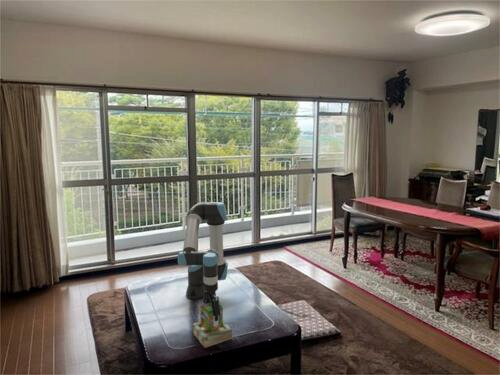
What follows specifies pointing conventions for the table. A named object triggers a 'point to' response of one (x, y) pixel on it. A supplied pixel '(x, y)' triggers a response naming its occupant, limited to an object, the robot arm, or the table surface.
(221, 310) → the chalk box
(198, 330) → the rectangular frame
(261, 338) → the table surface
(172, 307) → the table surface
